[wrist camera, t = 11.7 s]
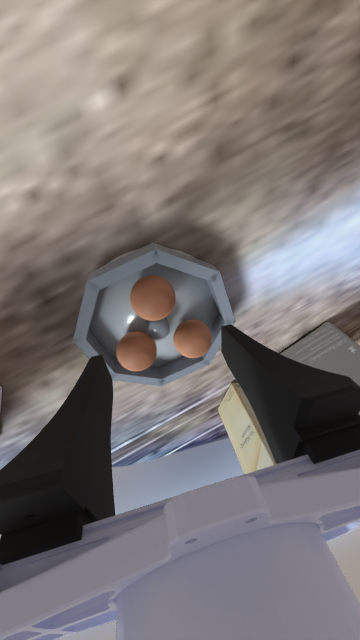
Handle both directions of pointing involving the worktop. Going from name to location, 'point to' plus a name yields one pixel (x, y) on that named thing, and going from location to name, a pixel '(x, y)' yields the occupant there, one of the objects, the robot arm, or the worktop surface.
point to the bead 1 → (152, 297)
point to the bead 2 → (136, 351)
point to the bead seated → (192, 338)
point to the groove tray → (120, 319)
